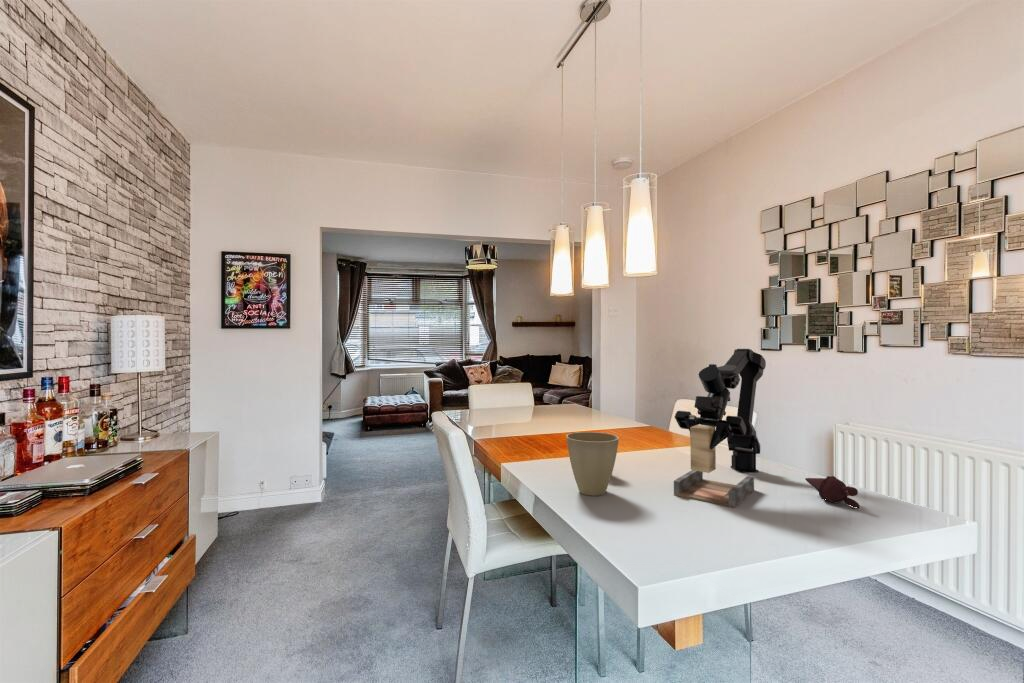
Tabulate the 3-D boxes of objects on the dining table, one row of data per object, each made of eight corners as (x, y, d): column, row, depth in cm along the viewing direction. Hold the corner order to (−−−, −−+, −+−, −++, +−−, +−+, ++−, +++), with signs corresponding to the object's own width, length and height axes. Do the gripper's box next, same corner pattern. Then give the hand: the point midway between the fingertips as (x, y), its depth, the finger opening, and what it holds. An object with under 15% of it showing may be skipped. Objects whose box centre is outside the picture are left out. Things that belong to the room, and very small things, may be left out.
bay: (697, 479, 146) (697, 466, 146) (754, 490, 136) (753, 476, 136) (673, 494, 132) (673, 480, 132) (734, 507, 121) (734, 492, 121)
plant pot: (619, 502, 126) (619, 442, 126) (564, 498, 129) (564, 440, 129) (618, 485, 141) (618, 432, 141) (568, 482, 144) (568, 430, 144)
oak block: (698, 466, 136) (697, 424, 136) (715, 469, 133) (715, 426, 133) (690, 469, 133) (690, 427, 133) (708, 473, 129) (708, 429, 129)
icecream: (794, 471, 132) (846, 492, 118) (814, 463, 134) (867, 482, 120) (797, 494, 133) (849, 517, 119) (817, 485, 135) (870, 507, 121)
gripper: (676, 383, 142) (660, 425, 134) (742, 387, 129) (728, 433, 121) (688, 407, 148) (672, 448, 140) (752, 413, 135) (739, 458, 127)
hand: (701, 446), depth 132 cm, fingers closed on oak block, 5 cm apart
